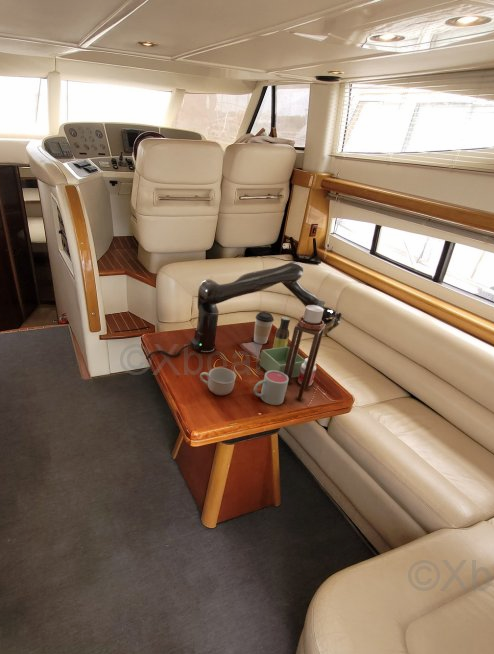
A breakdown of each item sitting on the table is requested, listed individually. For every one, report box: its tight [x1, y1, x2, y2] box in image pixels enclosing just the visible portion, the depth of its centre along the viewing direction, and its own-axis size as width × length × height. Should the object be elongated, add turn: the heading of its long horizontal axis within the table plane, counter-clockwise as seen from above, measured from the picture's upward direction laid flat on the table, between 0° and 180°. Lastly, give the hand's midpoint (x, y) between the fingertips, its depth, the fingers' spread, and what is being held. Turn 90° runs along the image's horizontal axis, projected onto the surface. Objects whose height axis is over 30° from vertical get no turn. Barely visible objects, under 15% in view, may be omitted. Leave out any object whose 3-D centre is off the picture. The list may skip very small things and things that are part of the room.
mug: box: [253, 371, 289, 406], centre depth 151 cm, size 14×9×10 cm
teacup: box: [199, 366, 237, 396], centre depth 153 cm, size 14×11×8 cm
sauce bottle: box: [272, 316, 291, 349], centre depth 180 cm, size 6×6×20 cm
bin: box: [258, 345, 306, 379], centre depth 172 cm, size 14×14×8 cm
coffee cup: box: [253, 311, 275, 345], centre depth 195 cm, size 9×9×15 cm
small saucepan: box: [303, 300, 326, 325], centre depth 147 cm, size 17×6×6 cm, turn 150°
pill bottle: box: [297, 357, 317, 387], centre depth 163 cm, size 6×6×11 cm
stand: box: [284, 315, 326, 401], centre depth 152 cm, size 10×9×32 cm
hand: (322, 309), depth 159 cm, fingers open, 8 cm apart
